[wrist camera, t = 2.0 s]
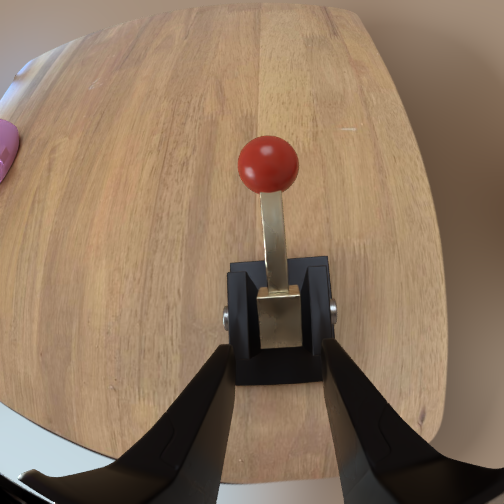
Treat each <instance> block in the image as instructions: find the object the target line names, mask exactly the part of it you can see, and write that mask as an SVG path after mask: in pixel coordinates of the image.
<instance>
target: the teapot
mask: <svg viewBox="0 0 504 504" xmlns="http://www.w3.org/2000/svg"><path fill="white" fill-rule="evenodd" d="M18 147H19V134H18V129H17V127H16V126H15V125H13V124H12V123H10V122H8V121H6V120H2V119H0V183H1V181H2V180H3V179H4V177H5V175H6V174H7V172H8V170H9V169H10V167H11V165H12V163H13V161H14V159H15V156H16V154H17V151H18Z"/></svg>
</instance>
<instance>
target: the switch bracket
mask: <svg viewBox="0 0 504 504" xmlns="http://www.w3.org/2000/svg"><path fill="white" fill-rule="evenodd" d="M287 266H288V281H289V285H298V287H299V291H300V294H301V310H302V336H303V346H298V347H284V348H265V349H261V348H260V338H259V326H258V314H257V302H256V297H257V295H258V292H259V289H260V287H267V275H266V263H265V261H251V262H237V263H230V272H228V273H227V296H228V306H225V307H224V310H223V323H224V328H225V330H226V331H229V344H231V345H232V346H233V350H234V354H235V359H236V379H235V386H247V385H279V384H296V383H309V382H320V381H323V376H322V365H321V347H322V340H323V339H326V338H334V339H335V334H334V324H336V322H337V306H336V302H335V299H332V294H331V283H330V273H329V264H328V256H318V257H305V258H292V259H287Z"/></svg>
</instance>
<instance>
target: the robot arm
mask: <svg viewBox="0 0 504 504" xmlns="http://www.w3.org/2000/svg"><path fill="white" fill-rule="evenodd" d="M321 365H322V376H323V388H324V398H325V403H326V408H327V413H328V418H329V422H330V427H331V432H332V437H333V442H334V448H335V453H336V458H337V463H338V469H339V474H340V480H341V486H342V491H343V497H344V504H504V468H500V469H491V468H485V467H481V466H477V465H473V464H469V463H465V462H461V461H457V460H454V459H451V458H448V457H446V456H444V455H442V454H440V453H439V452H437V451H436V450H435V449H434V448H433V447H432V446H431V445H429V444H428V443H427V442H426V441H425V440H424V439H423V438H422V437H421V436H420V435H418V434H417V433H416V432H415V431H414V430H413V429H412V428H411V427H410V426H409V425H408V424H407V423H406V422H405V421H404V420H403V419H402V418H401V417H400V416H399V415H398V414H397V412H396V411H395V410H394V409H393V408H392V407H391V405H390V404H389V403H387V401H386V399H385V398H384V397H383V396H382V395H381V393H380V392H379V391H378V390H377V389H376V387H375V386H374V385H373V384H372V383H371V381H370V380H369V379H368V378H367V377H366V375H365V374H364V373H363V372H362V371H361V369H360V368H359V367H358V366H357V365H356V363H355V362H354V361H353V360H352V359H351V357H350V356H349V355H348V354H347V353H346V352H345V350H344V349H343V348H342V347H341V346H340V344H339V343H338V342H337V341H336V340H335V339H334V338H326V339H323V340H322V347H321ZM235 379H236V359H235V354H234V350H233V346H232V345H231V344H221V345H219V346H218V348H217V349H216V350H215V351H214V353H213V354H212V355H211V356H210V358H209V359H208V360H207V362H206V363H205V364H204V365H203V367H202V368H201V369H200V370H199V372H198V373H197V374H196V375H195V377H194V378H193V379H192V380H191V381H190V383H189V384H188V385H187V386H186V388H185V389H184V390H183V391H182V393H181V394H180V395H179V396H178V397H177V399H176V400H175V401H174V402H173V404H172V405H171V406H170V407H169V408H168V410H167V412H165V413H164V414H163V415H162V417H161V418H160V419H159V420H158V421H157V422H156V423H155V425H154V426H153V427H152V428H151V429H150V430H149V431H148V432H147V433H146V434H145V435H144V436H143V437H142V438H141V439H140V440H139V441H137V442H136V443H135V444H134V445H133V446H132V447H131V448H130V449H129V450H127V451H126V452H125V453H124V454H123V455H122V456H121V457H120V458H118V459H117V460H116V461H114V462H113V463H111V464H109V465H107V466H105V467H102V468H98V469H94V470H90V471H86V472H82V473H78V474H73V475H68V476H63V477H49V476H46V475H44V474H42V473H40V472H39V471H37V470H35V469H32V470H30V471H27V472H24V473H22V474H21V475H20V476H18V480H20V481H21V482H23V483H24V484H25V485H27V486H29V487H30V488H32V489H33V490H35V491H36V492H38V493H39V494H41V495H43V496H44V497H46V498H48V499H49V500H51V501H53V502H54V504H216V500H217V496H218V491H219V486H220V480H221V475H222V469H223V464H224V458H225V453H226V447H227V442H228V436H229V430H230V425H231V419H232V414H233V408H234V400H235ZM0 504H51V503H50V502H48V501H46V500H44V499H42V498H41V497H39V496H37V495H35V494H34V493H32V492H30V491H28V490H27V489H25V488H23V487H22V486H20V485H18V484H17V483H15V482H14V481H12V480H10V479H9V478H7V477H6V476H4V475H3V474H1V473H0Z"/></svg>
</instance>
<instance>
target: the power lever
mask: <svg viewBox="0 0 504 504" xmlns="http://www.w3.org/2000/svg"><path fill="white" fill-rule="evenodd" d="M298 171H299V161H298V157H297V154H296V152H295V150H294V149H293V147H292V146H291V145H290V144H289V143H288V142H286V141H285V140H283V139H281V138H279V137H276V136H260V137H257V138H255V139H253V140H251V141H250V142H248V143H247V144H246V145H245V146H244V148H243V149H242V151H241V153H240V155H239V158H238V172H239V176H240V178H241V180H242V182H243V183H244V184H245V185H246V186H247V187H248V188H249V189H250V190H252V191H253V192H255V193H258V194H260V202H261V214H262V226H263V238H264V250H265V263H266V275H267V287H260V289H259V292H258V295H257V297H256V302H257V314H258V326H259V338H260V348H261V349H265V348H284V347H298V346H303V336H302V310H301V294H300V291H299V287H298V285H289V281H288V266H287V252H286V239H285V226H284V214H283V202H282V192H284V191H286V190H287V189H288V188H289V187H290V186H291V185H292V184H293V183H294V181H295V180H296V178H297V175H298Z"/></svg>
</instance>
